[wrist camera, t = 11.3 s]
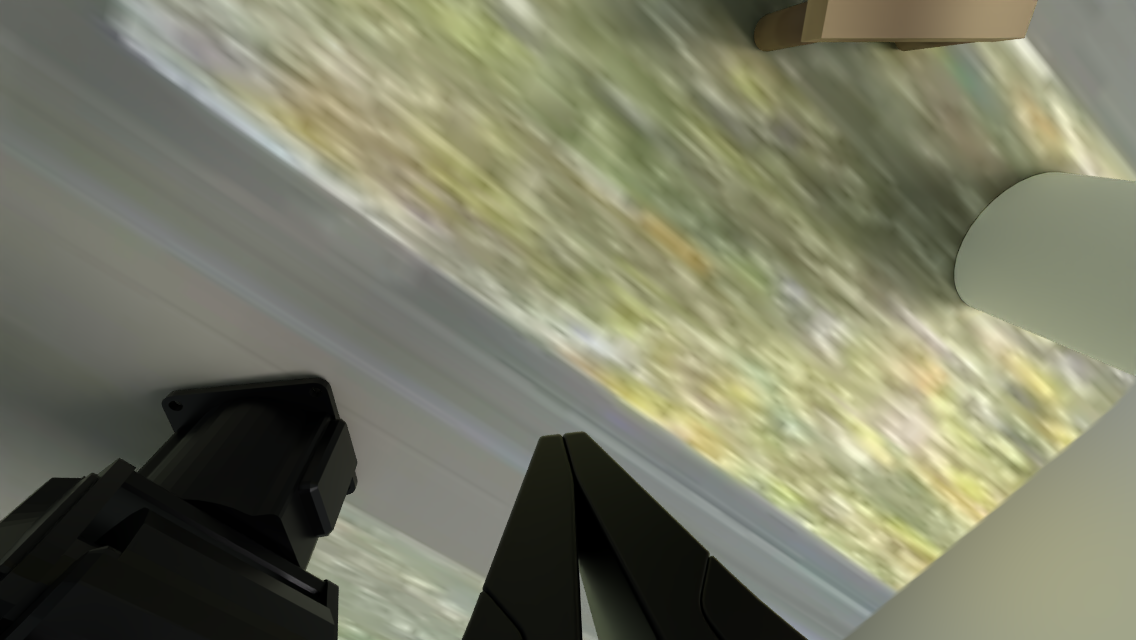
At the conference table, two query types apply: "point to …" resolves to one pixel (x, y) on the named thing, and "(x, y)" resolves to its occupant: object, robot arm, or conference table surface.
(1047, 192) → the cylindrical container
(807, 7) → the stool
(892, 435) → the conference table surface
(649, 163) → the conference table surface
